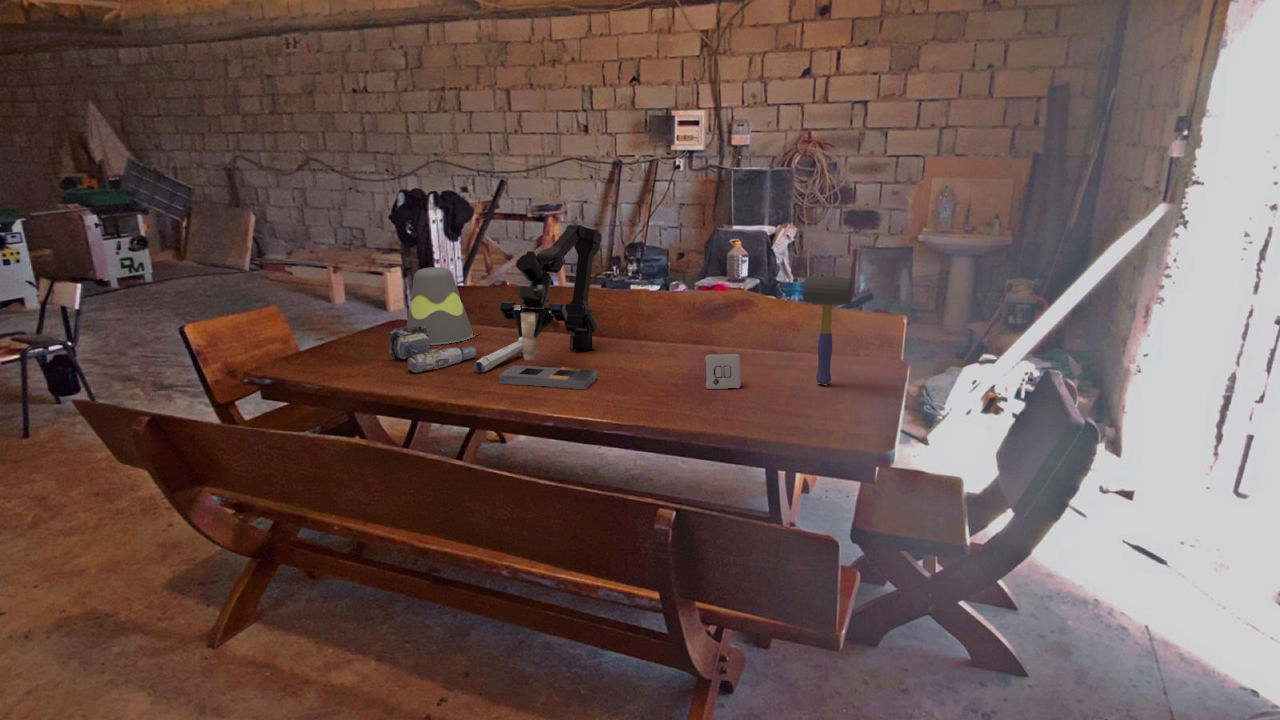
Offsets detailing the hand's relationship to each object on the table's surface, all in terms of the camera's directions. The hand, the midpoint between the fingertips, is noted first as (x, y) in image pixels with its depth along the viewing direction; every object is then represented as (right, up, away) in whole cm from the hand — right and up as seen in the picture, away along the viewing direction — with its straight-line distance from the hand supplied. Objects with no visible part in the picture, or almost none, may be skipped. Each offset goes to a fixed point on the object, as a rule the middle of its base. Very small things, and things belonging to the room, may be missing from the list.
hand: (527, 336), depth 209 cm
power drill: (-35, -8, +25) cm, 44 cm away
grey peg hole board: (+5, -13, +4) cm, 14 cm away
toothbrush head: (-10, -8, +23) cm, 26 cm away
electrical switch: (+54, -14, -4) cm, 56 cm away
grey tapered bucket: (-40, +2, +57) cm, 70 cm away
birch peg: (0, -6, +3) cm, 7 cm away
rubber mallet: (+82, -13, -5) cm, 83 cm away
